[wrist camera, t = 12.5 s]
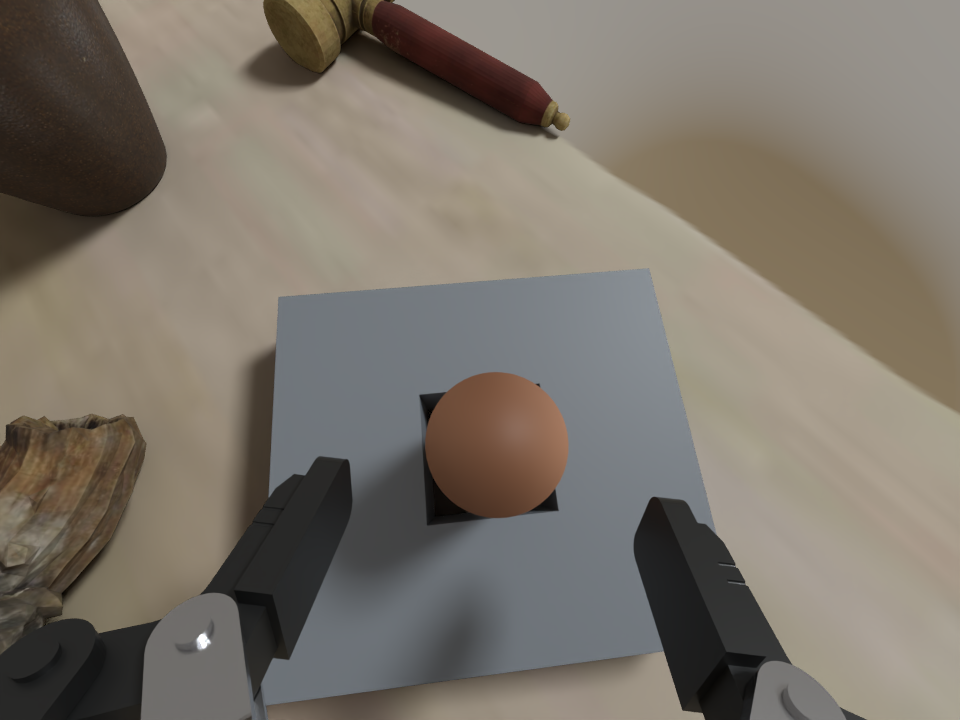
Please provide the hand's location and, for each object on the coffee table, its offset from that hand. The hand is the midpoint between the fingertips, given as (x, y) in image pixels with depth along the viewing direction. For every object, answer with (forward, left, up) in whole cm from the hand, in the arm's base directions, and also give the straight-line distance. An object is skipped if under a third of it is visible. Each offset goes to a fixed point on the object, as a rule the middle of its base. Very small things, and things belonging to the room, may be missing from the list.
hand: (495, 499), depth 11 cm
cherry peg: (0, -1, -10) cm, 10 cm away
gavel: (0, -29, -11) cm, 31 cm away
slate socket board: (0, -2, -10) cm, 10 cm away
